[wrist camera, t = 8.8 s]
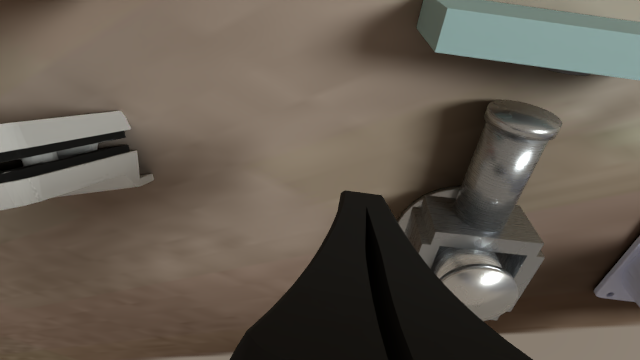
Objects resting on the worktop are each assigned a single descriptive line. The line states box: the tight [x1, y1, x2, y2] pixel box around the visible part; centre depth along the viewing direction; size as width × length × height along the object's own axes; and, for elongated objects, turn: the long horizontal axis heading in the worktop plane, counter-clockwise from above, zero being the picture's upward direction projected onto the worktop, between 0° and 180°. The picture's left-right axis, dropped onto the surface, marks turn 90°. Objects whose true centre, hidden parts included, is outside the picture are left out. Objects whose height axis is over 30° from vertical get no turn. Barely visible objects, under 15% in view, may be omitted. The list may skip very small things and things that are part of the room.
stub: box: [397, 186, 518, 321], centre depth 23 cm, size 8×8×6 cm
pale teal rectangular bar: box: [416, 0, 640, 80], centre depth 16 cm, size 12×2×4 cm, turn 83°
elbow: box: [405, 100, 562, 320], centre depth 21 cm, size 14×7×4 cm, turn 175°
